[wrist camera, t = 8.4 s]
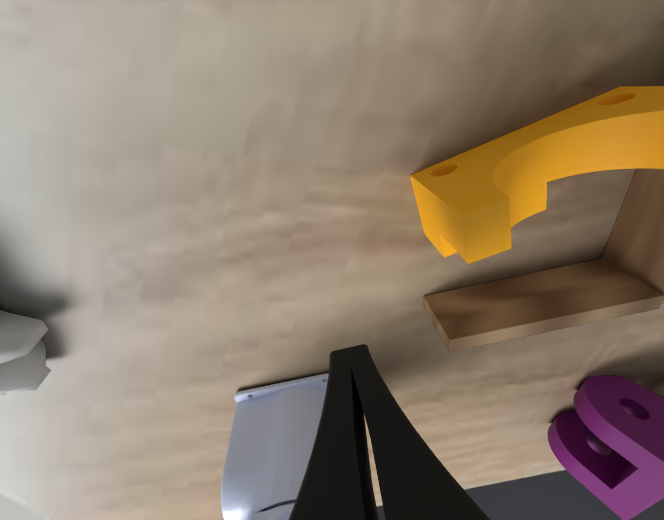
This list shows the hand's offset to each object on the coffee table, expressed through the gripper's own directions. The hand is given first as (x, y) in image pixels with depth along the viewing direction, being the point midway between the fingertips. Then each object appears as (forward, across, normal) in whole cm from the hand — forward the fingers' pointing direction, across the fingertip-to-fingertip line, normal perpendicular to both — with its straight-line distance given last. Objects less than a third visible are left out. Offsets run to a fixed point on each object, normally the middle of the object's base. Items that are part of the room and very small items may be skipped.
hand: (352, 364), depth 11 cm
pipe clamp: (+10, -12, -2) cm, 16 cm away
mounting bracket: (+10, -29, +30) cm, 43 cm away
